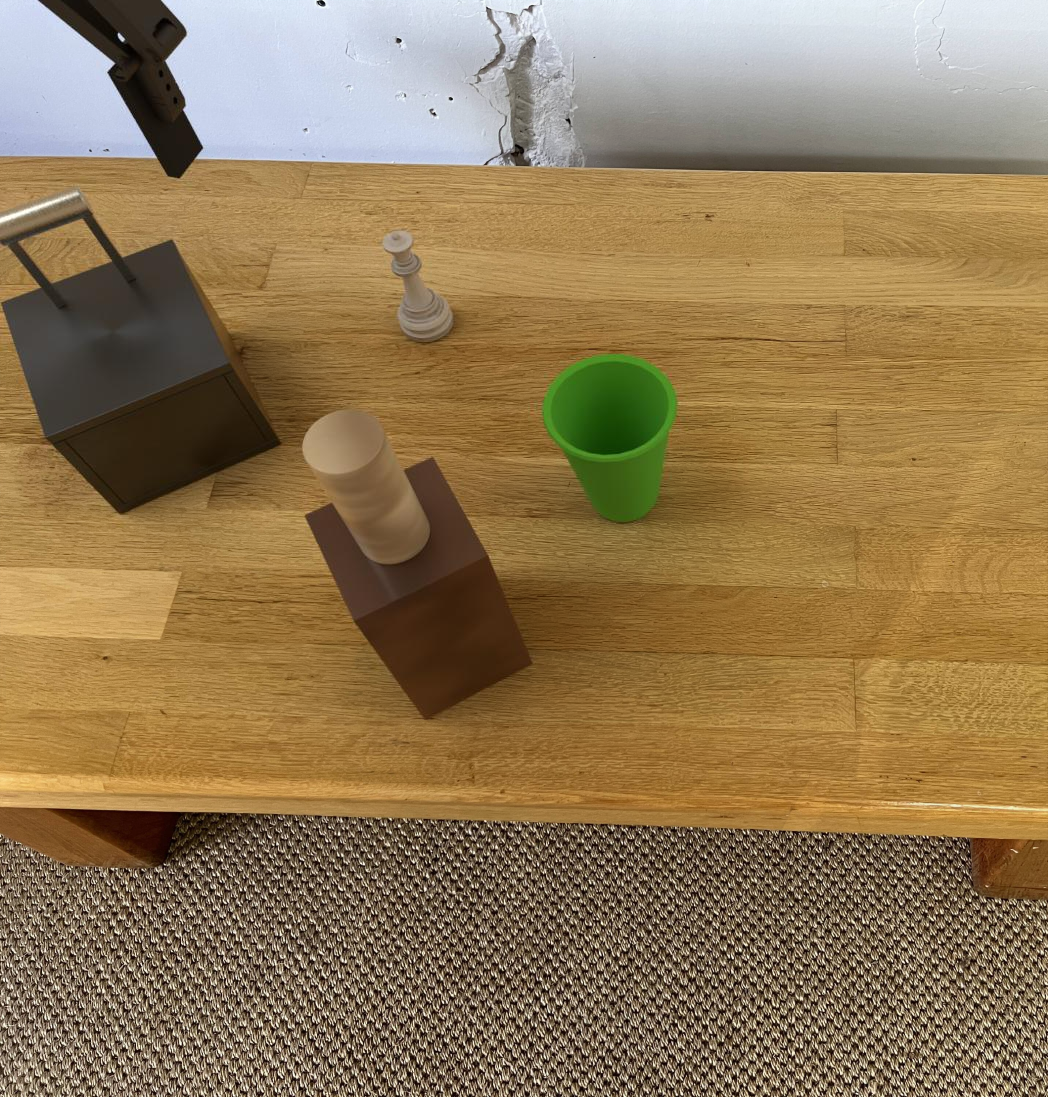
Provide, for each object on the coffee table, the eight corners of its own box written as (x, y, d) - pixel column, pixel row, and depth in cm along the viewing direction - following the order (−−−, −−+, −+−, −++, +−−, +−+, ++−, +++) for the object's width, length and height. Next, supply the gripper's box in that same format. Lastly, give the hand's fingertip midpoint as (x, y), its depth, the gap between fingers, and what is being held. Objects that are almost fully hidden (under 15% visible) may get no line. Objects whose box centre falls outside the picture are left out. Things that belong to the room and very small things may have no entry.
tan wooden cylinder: (374, 576, 57) (318, 486, 49) (349, 524, 59) (290, 429, 51) (441, 544, 58) (396, 451, 50) (414, 494, 60) (366, 396, 52)
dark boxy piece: (76, 393, 83) (9, 317, 75) (229, 332, 86) (180, 253, 78) (119, 514, 77) (52, 445, 69) (281, 444, 80) (234, 370, 73)
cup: (672, 553, 75) (663, 468, 66) (552, 537, 76) (526, 450, 66) (693, 455, 80) (688, 361, 70) (580, 440, 80) (559, 345, 71)
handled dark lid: (7, 310, 75) (-75, 216, 68) (177, 246, 79) (117, 150, 71) (51, 445, 69) (-33, 358, 62) (234, 370, 72) (176, 279, 65)
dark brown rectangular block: (425, 720, 68) (353, 621, 56) (380, 628, 72) (303, 514, 59) (533, 663, 71) (488, 554, 58) (485, 577, 74) (432, 456, 61)
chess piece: (464, 316, 87) (434, 224, 78) (432, 350, 85) (398, 260, 76) (423, 297, 88) (389, 205, 79) (390, 331, 86) (352, 240, 77)
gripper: (116, -313, 41) (306, 136, 60) (-398, -373, 44) (-67, 71, 63) (6, -227, 38) (244, 223, 56) (-545, -298, 41) (-149, 150, 59)
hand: (80, 144), depth 59 cm, fingers open, 13 cm apart
